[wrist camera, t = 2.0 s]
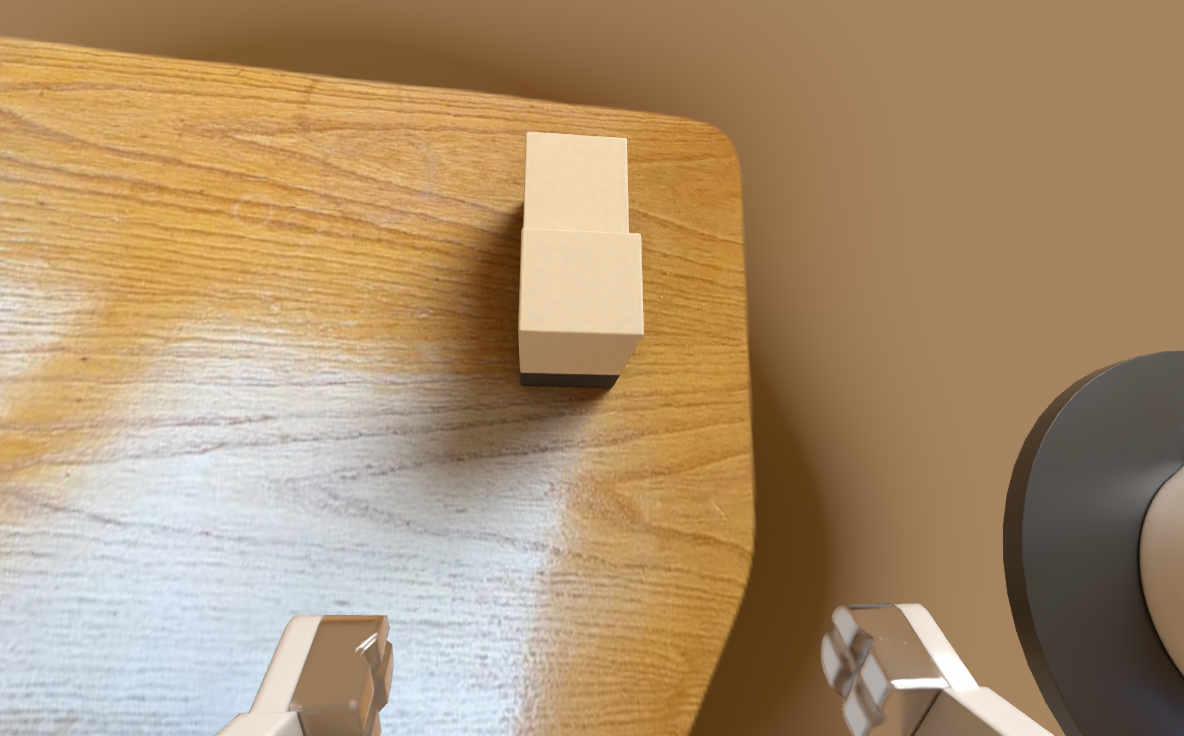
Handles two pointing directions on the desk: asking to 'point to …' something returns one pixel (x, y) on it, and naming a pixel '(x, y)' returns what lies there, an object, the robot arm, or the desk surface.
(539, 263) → the stepped cream block
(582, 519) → the desk surface
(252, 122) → the desk surface
